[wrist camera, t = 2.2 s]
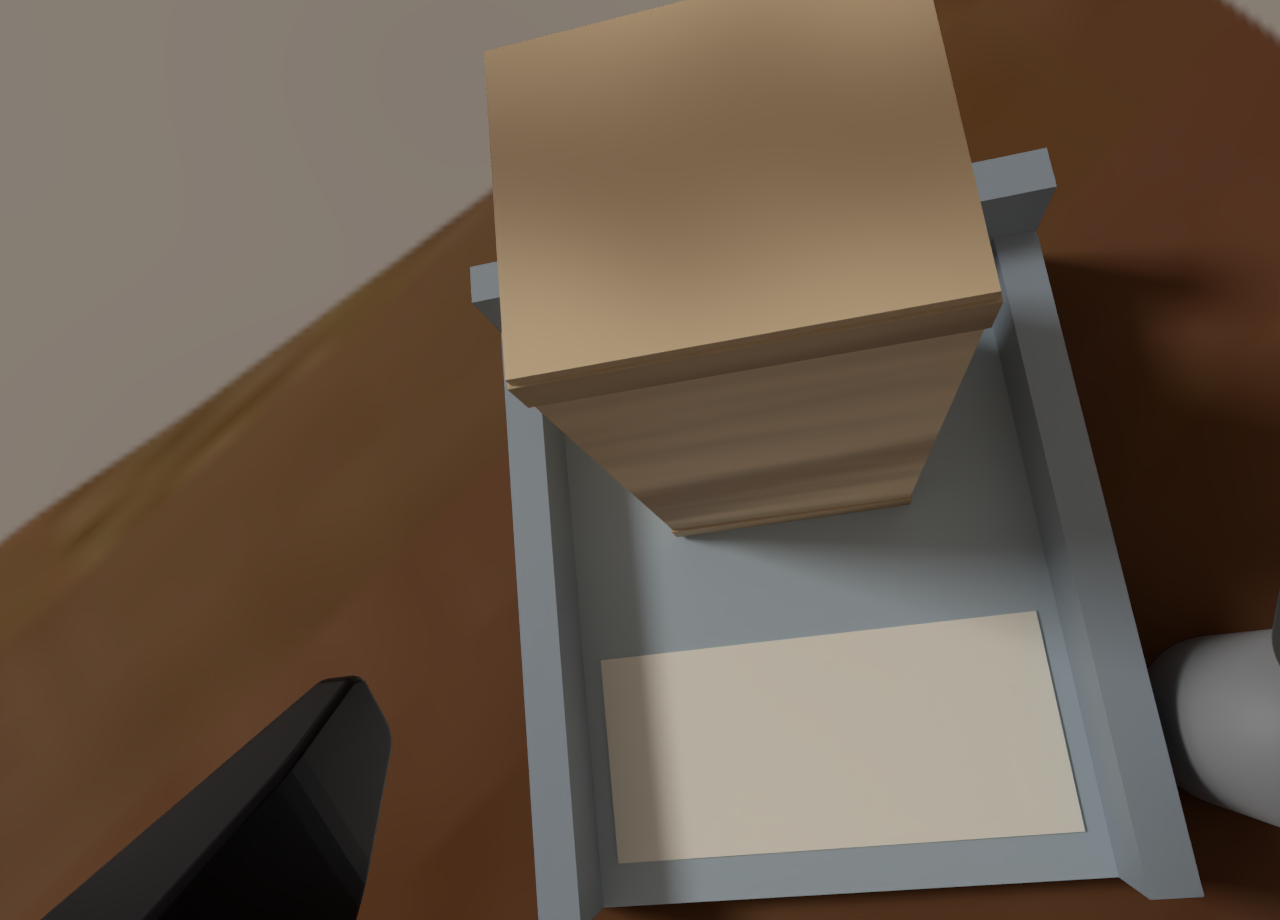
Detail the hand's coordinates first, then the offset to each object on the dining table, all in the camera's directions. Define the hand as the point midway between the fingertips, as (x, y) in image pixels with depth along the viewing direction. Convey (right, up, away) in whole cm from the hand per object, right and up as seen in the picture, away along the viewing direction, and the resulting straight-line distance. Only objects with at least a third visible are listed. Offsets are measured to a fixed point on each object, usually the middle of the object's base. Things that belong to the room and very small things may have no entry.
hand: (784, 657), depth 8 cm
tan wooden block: (+2, +3, +15) cm, 15 cm away
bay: (+5, -1, +15) cm, 15 cm away
